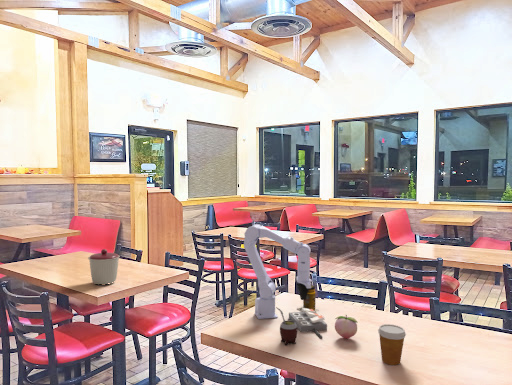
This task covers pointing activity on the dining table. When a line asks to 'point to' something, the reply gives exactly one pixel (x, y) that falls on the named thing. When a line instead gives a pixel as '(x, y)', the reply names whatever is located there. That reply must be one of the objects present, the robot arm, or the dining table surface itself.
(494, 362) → the dining table surface
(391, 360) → the disposable coffee cup
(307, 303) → the condiment
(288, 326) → the mate gourd
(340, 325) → the decorative fruit
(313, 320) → the rocker near camera
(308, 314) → the rocker middle
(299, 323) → the rocker switch panel
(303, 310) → the rocker near arm
